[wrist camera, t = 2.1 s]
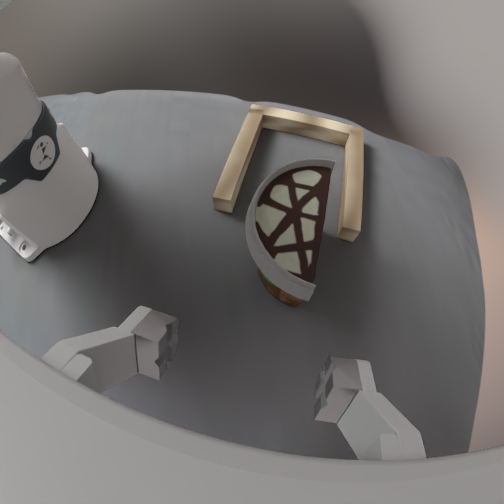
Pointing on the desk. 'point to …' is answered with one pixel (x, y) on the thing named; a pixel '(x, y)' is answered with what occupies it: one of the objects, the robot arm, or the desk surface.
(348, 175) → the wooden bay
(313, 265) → the food container
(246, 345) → the desk surface
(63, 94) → the desk surface
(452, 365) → the desk surface
